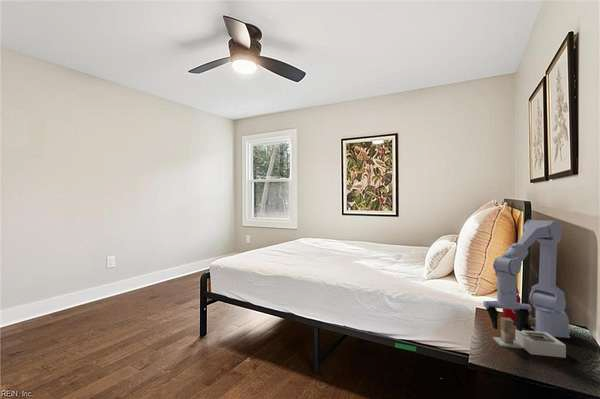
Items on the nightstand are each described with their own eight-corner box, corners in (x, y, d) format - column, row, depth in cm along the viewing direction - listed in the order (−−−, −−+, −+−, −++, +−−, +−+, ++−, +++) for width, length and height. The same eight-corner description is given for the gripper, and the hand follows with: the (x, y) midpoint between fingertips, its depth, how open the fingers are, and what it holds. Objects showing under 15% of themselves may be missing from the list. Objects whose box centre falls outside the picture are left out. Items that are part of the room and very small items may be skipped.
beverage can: (523, 324, 122) (523, 295, 122) (507, 323, 123) (507, 294, 124) (515, 319, 128) (515, 291, 128) (500, 317, 129) (500, 290, 130)
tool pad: (512, 340, 107) (512, 338, 107) (521, 348, 101) (521, 346, 101) (493, 338, 109) (493, 336, 109) (501, 346, 102) (501, 344, 102)
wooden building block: (509, 340, 106) (509, 317, 106) (513, 343, 103) (513, 320, 103) (500, 339, 106) (500, 317, 107) (504, 342, 104) (504, 320, 104)
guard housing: (547, 343, 105) (546, 331, 105) (566, 357, 95) (565, 344, 95) (515, 340, 107) (515, 328, 107) (530, 354, 97) (530, 340, 97)
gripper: (489, 292, 103) (489, 331, 103) (536, 295, 100) (536, 336, 99) (481, 287, 110) (481, 323, 109) (525, 290, 107) (525, 327, 106)
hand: (506, 329), depth 105 cm, fingers open, 7 cm apart
